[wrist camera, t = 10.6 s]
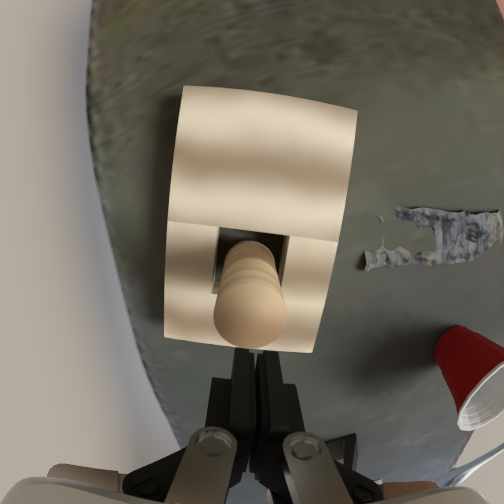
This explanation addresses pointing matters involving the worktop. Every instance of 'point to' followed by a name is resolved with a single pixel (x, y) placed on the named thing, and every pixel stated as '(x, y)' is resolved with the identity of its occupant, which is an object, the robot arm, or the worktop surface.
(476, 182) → the worktop surface
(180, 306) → the board
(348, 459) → the phone stand
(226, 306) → the peg
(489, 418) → the plastic cup
